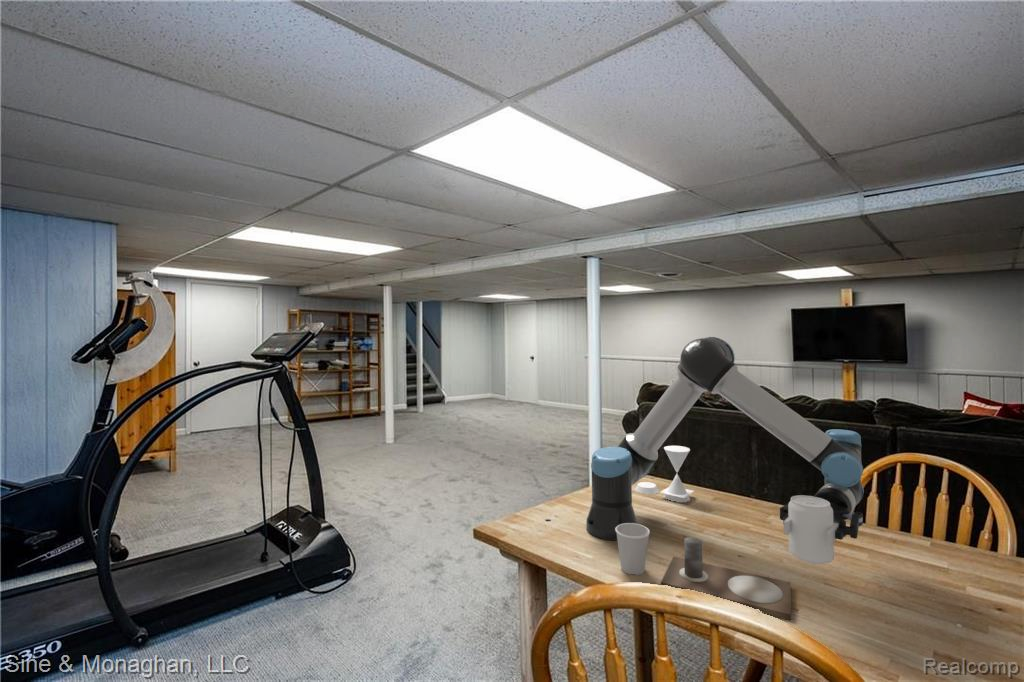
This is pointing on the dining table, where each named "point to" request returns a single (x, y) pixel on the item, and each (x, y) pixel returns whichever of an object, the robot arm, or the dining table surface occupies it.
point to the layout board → (728, 582)
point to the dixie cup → (632, 547)
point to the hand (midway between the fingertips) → (806, 533)
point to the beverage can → (810, 529)
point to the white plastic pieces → (676, 488)
